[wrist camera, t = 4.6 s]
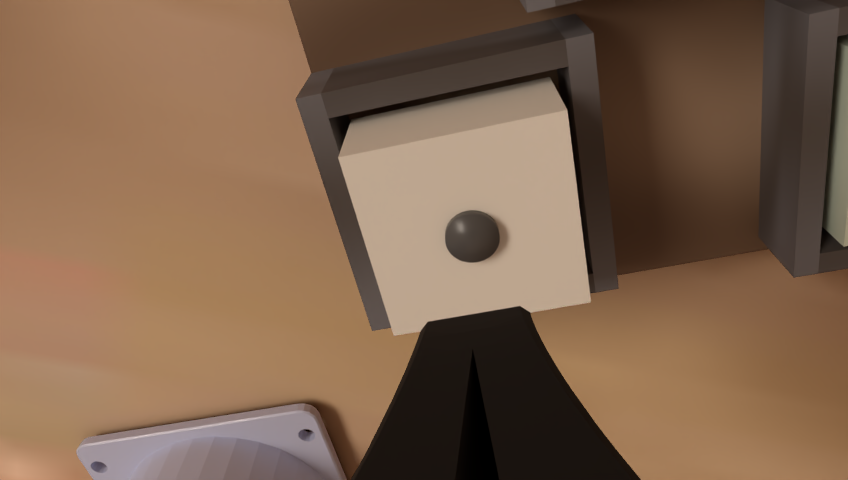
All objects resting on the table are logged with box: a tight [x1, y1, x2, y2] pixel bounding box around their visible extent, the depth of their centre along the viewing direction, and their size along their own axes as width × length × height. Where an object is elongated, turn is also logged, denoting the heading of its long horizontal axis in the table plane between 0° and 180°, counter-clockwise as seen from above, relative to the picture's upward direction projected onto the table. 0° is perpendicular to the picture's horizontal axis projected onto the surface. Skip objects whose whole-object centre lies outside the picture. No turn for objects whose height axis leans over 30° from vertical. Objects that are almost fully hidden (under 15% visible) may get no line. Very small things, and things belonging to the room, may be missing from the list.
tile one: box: [338, 77, 591, 336], centre depth 13 cm, size 4×4×2 cm
